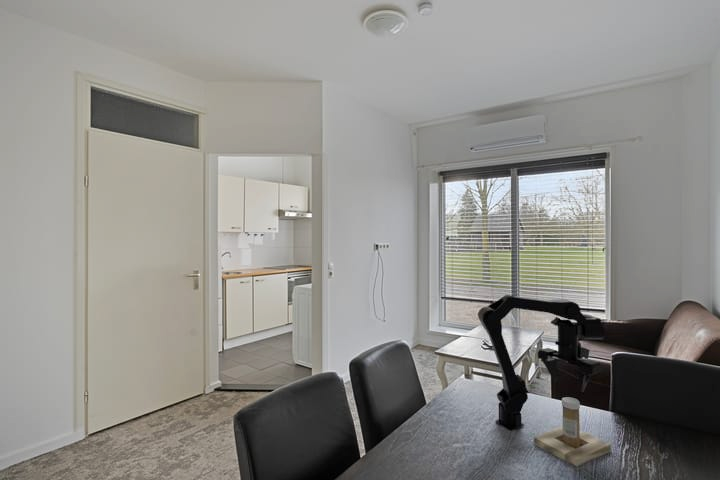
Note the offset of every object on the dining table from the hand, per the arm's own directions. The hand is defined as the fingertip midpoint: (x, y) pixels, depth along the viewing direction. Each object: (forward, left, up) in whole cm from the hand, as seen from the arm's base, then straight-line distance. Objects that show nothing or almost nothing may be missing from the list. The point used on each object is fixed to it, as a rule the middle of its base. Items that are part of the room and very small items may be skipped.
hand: (568, 386), depth 120 cm
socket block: (+8, -11, -13) cm, 19 cm away
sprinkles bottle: (+8, -11, -13) cm, 19 cm away
